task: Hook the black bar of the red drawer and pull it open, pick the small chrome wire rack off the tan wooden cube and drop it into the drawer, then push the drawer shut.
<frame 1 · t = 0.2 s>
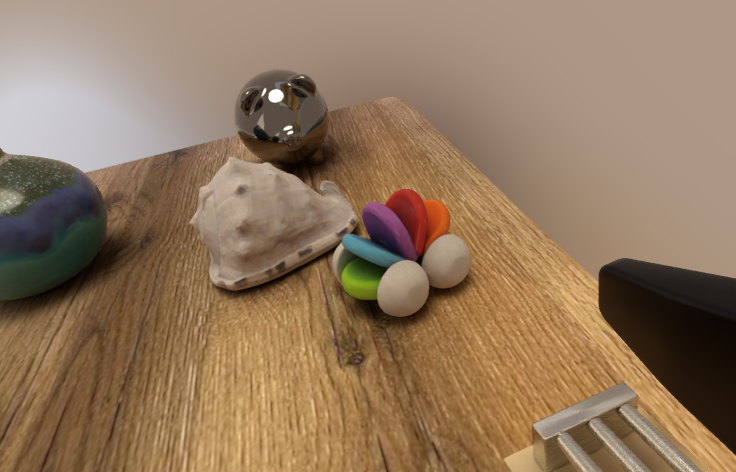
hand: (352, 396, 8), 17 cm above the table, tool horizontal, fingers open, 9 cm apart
rainbow wheeled toy: (404, 285, 39), on the table
piggy bank: (296, 165, 64), on the table
seashell: (276, 248, 47), on the table
vase: (51, 276, 52), on the table
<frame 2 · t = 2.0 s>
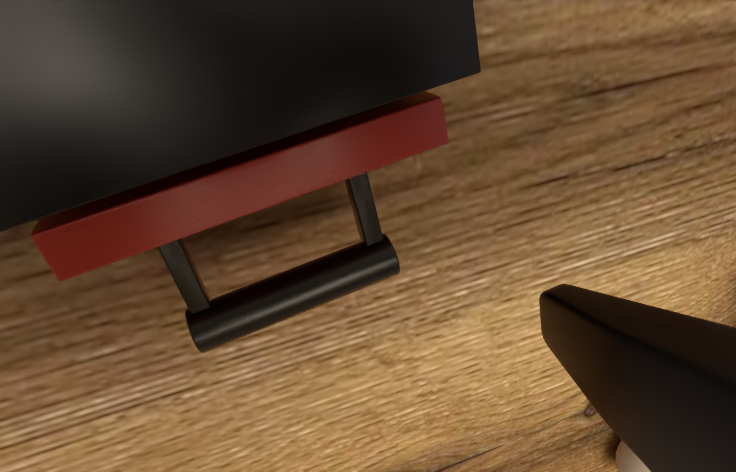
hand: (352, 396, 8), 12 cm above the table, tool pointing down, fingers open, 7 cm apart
red drawer: (197, 24, 12), point 4 cm above the table, slide at 0.5 cm
rainbow wheeled toy: (657, 431, 35), on the table
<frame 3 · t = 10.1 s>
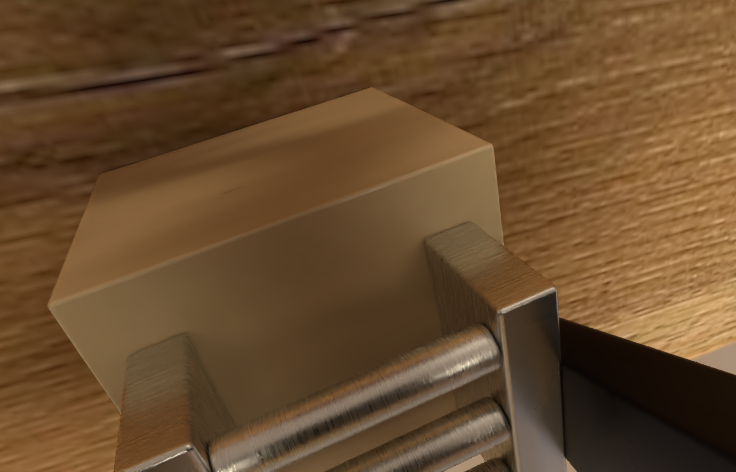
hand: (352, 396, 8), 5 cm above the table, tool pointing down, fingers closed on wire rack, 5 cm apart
wire rack: (345, 383, 8), point 5 cm above the table, touching gripper, tan wooden cube
tan wooden cube: (285, 246, 12), on the table
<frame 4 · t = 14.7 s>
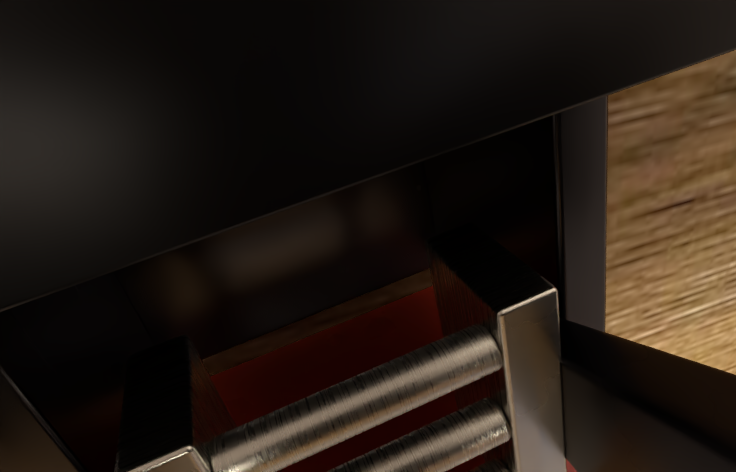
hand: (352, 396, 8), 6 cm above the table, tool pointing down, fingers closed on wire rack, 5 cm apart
red drawer: (315, 311, 9), point 4 cm above the table, slide at 6.4 cm, touching gripper
wire rack: (345, 384, 8), point 5 cm above the table, touching gripper
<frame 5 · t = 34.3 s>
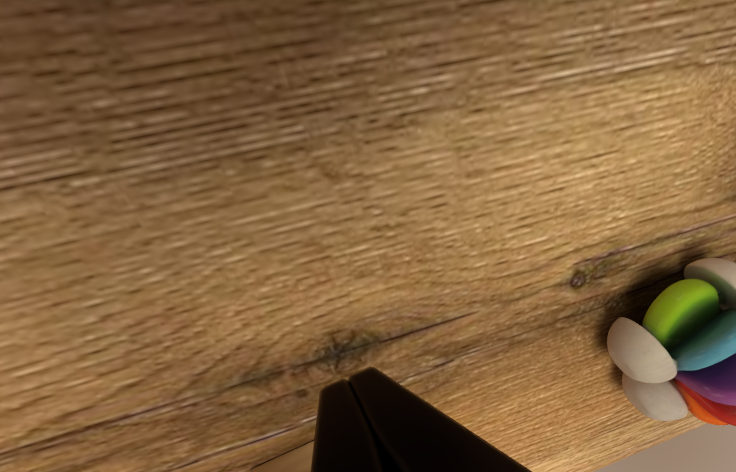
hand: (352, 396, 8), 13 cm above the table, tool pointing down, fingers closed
rainbow wheeled toy: (655, 320, 31), on the table
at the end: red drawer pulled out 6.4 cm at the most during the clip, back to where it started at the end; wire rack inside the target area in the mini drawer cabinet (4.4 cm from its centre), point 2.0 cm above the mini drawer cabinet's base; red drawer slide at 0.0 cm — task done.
